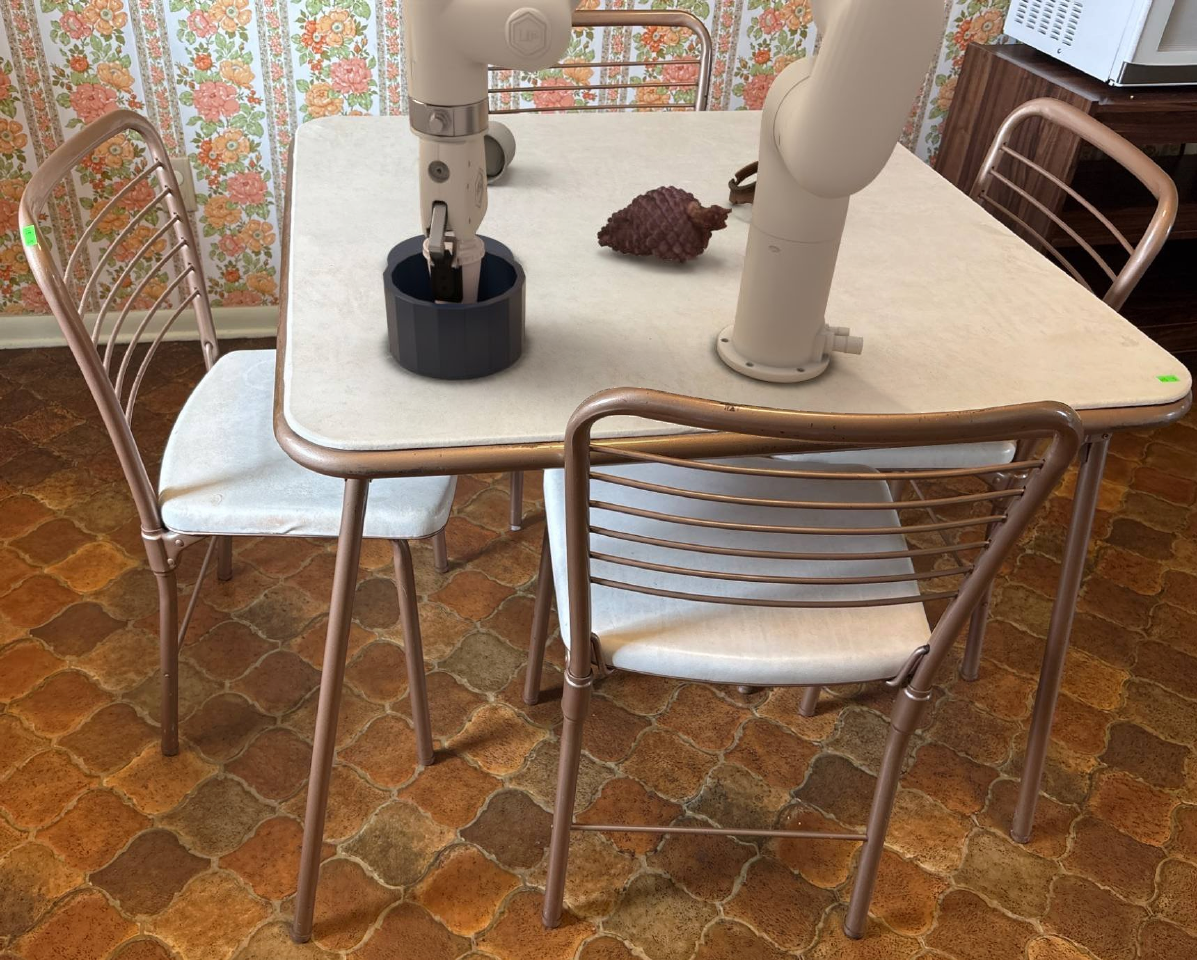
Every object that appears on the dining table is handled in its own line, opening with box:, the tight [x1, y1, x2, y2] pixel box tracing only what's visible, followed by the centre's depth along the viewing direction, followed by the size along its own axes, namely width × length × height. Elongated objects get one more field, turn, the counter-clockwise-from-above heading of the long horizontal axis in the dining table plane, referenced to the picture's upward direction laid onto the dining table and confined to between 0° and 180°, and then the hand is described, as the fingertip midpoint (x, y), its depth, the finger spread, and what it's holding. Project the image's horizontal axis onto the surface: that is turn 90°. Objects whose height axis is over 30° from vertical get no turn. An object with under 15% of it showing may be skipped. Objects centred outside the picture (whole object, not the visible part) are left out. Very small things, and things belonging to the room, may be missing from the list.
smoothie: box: [423, 231, 485, 304], centre depth 104 cm, size 6×6×14 cm
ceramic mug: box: [484, 120, 517, 185], centre depth 147 cm, size 11×8×8 cm
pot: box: [382, 248, 527, 381], centre depth 107 cm, size 15×15×8 cm
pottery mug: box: [727, 160, 758, 206], centre depth 143 cm, size 12×10×8 cm
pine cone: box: [596, 185, 733, 264], centre depth 128 cm, size 18×10×10 cm
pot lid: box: [386, 230, 515, 265], centre depth 123 cm, size 16×16×6 cm
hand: (455, 283), depth 105 cm, fingers closed on smoothie, 6 cm apart
